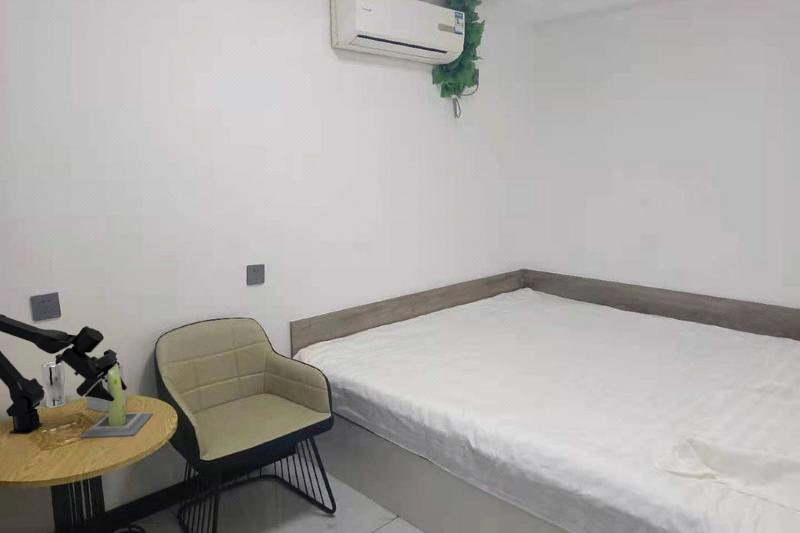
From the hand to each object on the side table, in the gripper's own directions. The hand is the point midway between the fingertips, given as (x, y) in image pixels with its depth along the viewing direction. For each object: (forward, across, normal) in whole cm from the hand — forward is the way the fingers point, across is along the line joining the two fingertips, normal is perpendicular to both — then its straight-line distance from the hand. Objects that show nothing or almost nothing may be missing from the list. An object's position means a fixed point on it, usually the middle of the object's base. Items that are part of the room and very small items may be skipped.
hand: (120, 394), depth 176 cm
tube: (+6, 0, +8) cm, 10 cm away
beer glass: (-14, +20, +30) cm, 38 cm away
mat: (+6, 0, +8) cm, 11 cm away
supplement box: (-1, +17, +16) cm, 24 cm away
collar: (+6, 0, +8) cm, 11 cm away
